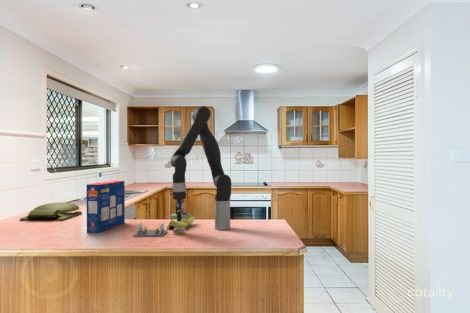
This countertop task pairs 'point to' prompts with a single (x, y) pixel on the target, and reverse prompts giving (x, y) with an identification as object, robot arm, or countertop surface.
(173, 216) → the board
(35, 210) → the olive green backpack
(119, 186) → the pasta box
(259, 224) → the countertop surface
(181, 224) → the plastic component
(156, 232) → the chassis
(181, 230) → the block
